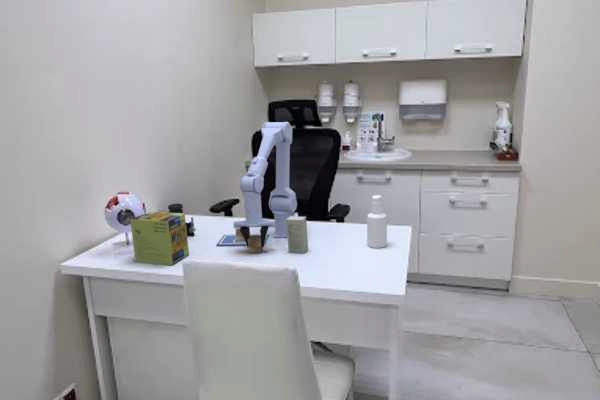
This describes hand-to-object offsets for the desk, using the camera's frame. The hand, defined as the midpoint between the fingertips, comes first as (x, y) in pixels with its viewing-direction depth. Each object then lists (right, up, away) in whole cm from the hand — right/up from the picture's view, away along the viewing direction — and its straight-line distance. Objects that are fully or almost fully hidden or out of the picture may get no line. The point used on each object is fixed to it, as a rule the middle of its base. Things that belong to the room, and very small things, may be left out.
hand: (255, 246), depth 165 cm
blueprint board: (-6, +1, +13) cm, 14 cm away
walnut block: (0, -1, 0) cm, 1 cm away
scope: (-31, +1, +19) cm, 37 cm away
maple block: (-6, +2, +13) cm, 14 cm away
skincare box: (+15, -2, -1) cm, 15 cm away
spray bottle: (+43, 0, +2) cm, 43 cm away
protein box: (-32, -4, -2) cm, 33 cm away
